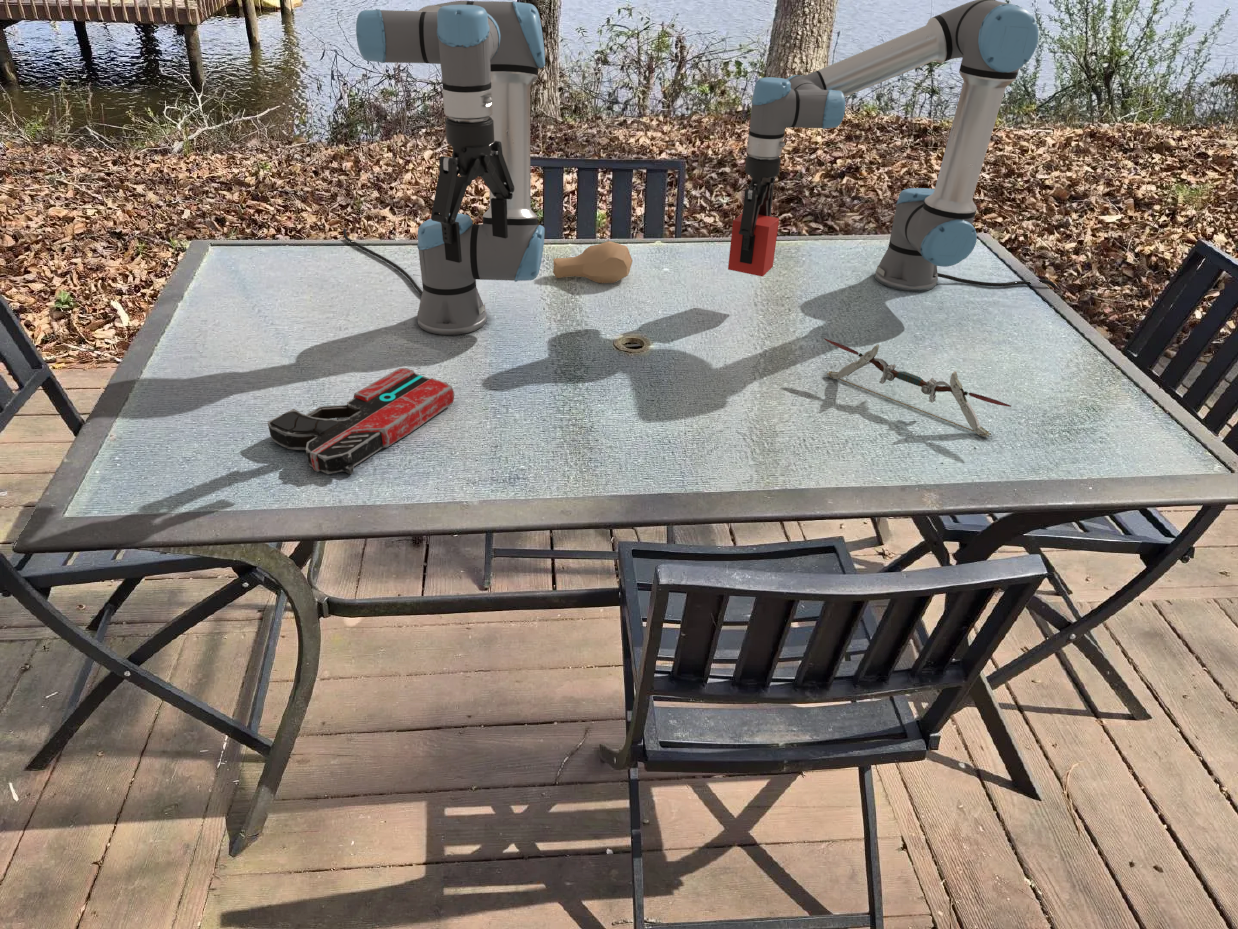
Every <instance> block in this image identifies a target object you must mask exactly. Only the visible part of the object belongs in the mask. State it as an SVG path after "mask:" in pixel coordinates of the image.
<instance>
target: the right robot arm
mask: <svg viewBox="0 0 1238 929" xmlns="http://www.w3.org/2000/svg"><path fill="white" fill-rule="evenodd" d="M1038 43H1039V26H1038V23H1037V21H1036V19H1035V16H1033V14H1031V12H1030V11H1028V10H1027V9H1025V8H1023V7H1022V6H1019V5H1018V4H1014V3H1008V2H1003V1H999V0H971V1H969V2H966V3H963V4H961V5H959V6H955V7H954V8H950V9H949V10H946V11H945V12H942V13H940V14H937V15H935V16H933V17H930V18H929V19H928V20H927V22H926V24H925V25H923V26H921V27H918V28H917V29H913V30H911V31H909V32H907V33H904V34H901V35H900V36H897V37H895V38H892V39H890V40H887V41H885V42H883V43H880V44H878V45H875V46H873V47H871V48H869V49H865V50H863V51H861V52H858V53H856V54H854V55H851V56H849V57H847V58H844V59H842V60H840V61H837V62H834V63H832V64H830V65H828V66H825V67H823V68H820V69H817V70H815V71H813V72H809V73H806V74H805V75H801V74H794V75H790V76H789V77H787V78H782V77H774V76H773V77H772V76H770V77H769V76H766V77H761V78H759V79H757V80H756V81H755V82H754V83H755V84H754V86H753V94H752V98H751V111H750V120H749V131H748V136H747V145H746V153H747V155H746V156H745V165H744V172H745V174H746V175H748V176H750V177H751V180H750V182H749V184H748V188H745V189H744V197H743V198H744V200H743V207H742V212H741V214H742V219H741V226H740V231H739V234H741V235H743V236H742V245H741V254H740V262H742V263H747V264H752V258H753V250H754V242H755V235H754V231H755V227H756V222H757V218H758V214H759V215H764V216H770V217H772V209H773V199H774V198H773V197H774V188H775V182H776V177H778V176H779V175H780V169H781V161H782V159H781V157H780V156H781V155H782V153H783V152H782V151H783V148H785V146H786V142H784V137H785V131H786V128H789V129H792V128H795V129H798V128H799V129H822V130H825V129H834V128H835V129H836V128H837V127H839V126H840V125H841V124H842V122H843V120H844V117H845V113H846V97H848V96H851V95H853V94H856V93H858V92H861V91H864V90H866V89H868V88H871V87H874V86H875V85H876V86H877V84H880V83H881V84H882V83H883V82H885V81H888V80H890V79H893V78H895V77H898V76H901V75H902V74H903V75H904V74H905V73H908V72H910V71H913V70H915V69H918V68H920V67H922V66H925V65H927V64H930V63H932V62H937V63H939V64H942V63H946V62H948V61H951V60H955V59H961V62H960V66H959V70H958V73H959V75H960V76H961V79H962V80H963V83H962V87H961V91H960V95H959V98H958V102H957V106H956V109H955V113H954V116H953V120H952V123H951V127H950V130H949V135H948V137H947V138H948V139H947V142H946V146H945V149H944V153H943V157H942V160H941V164H940V167H939V168H940V169H939V172H938V176H937V179H936V182H935V187H934V188H929V187H928V188H926V187H925V188H924V187H910V188H905V189H903V190H901V191H900V192H899V195H898V197H897V201H896V203H895V204H896V206H895V212H894V217H893V222H892V226H891V232H890V237H889V242H888V247H887V249H886V251H885V253H884V254H883V256H882V258H881V260H880V262H879V264H878V265H877V266H876V269H875V274H874V278H875V280H876V281H877V282H878V283H880V284H881V285H883V286H885V287H887V288H891V289H894V290H898V291H904V292H925V291H930V290H932V289H934V288H935V287H937V285H938V279H939V278H941V279H947V280H950V281H955V282H958V283H964V284H968V285H974V286H975V285H976V286H983V287H994V288H995V287H997V288H999V287H1000V288H1001V287H1002V288H1004V287H1011V286H1023V285H1032V284H1031V283H1030V282H1024V281H1025V280H1015V281H1008V282H989V281H979V280H972V279H968V278H967V279H966V278H962V277H957V276H954V275H949V274H945V273H940V272H939V271H938V267H942V268H947V267H953V266H955V265H957V264H960V262H962V261H963V260H965V259H967V258H968V257H969V256H970V255H971V253H972V252H973V250H974V249H975V247H976V244H977V240H978V235H977V231H976V228H975V226H974V225H973V224H974V220H975V217H976V215H977V214H976V213H977V210H978V207H977V205H976V203H975V202H974V200H973V199H974V196H975V193H976V190H977V189H976V188H977V185H978V182H979V179H980V178H979V177H980V175H981V171H982V168H983V165H984V163H985V162H984V161H985V159H986V155H987V151H988V149H989V145H990V142H991V139H992V134H993V131H994V128H995V125H996V121H997V117H998V114H999V111H1000V108H1001V104H1002V101H1003V97H1004V95H1005V90H1006V89H1007V87H1008V86H1009V85H1010V84H1013V82H1015V81H1017V77H1018V74H1019V70H1020V68H1022V67H1023V66H1024V65H1025V64H1026V63H1027V62H1029V61H1030V59H1031V58H1032V57H1033V55H1034V54H1035V51H1036V49H1037V46H1038ZM1038 280H1039V281H1040V282H1042V283H1041V284H1046V285H1048V286H1050V287H1051V288H1053V289H1057V288H1058V286H1057V284H1056V283H1055V282H1053V281H1052V280H1050V279H1045V278H1039V279H1038ZM1015 282H1017V283H1015Z"/></svg>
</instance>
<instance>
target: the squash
mask: <svg viewBox="0 0 1238 929" xmlns="http://www.w3.org/2000/svg"><path fill="white" fill-rule="evenodd" d="M632 264H633V258H632V255H631V254H630V249H629V247H628V246H627V245H624V244H622V243H621V244H620V243H617V242H614V241H610V240H608V241H605V242H602V243H599V244H598V243H597V244H593V245H590V246H588V247H587V248H585V249H584V250H583V252H581V253H580V254H578V255H576V256H571V257H570V256H569V257H555V258H553V268H552V273H553V275H554V276H555V279H562V278H570V277H578V278H579V277H580V278H586V279H588V280H590V281H591V282H595V283H598V284H615V283H616V282H618V281H620V280H622V279H625V278H626V277H628V276H629V274H630V272H631V268H632Z"/></svg>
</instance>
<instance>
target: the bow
mask: <svg viewBox="0 0 1238 929" xmlns="http://www.w3.org/2000/svg"><path fill="white" fill-rule="evenodd" d="M822 339H823V340H824V341H826V342H828V343H829V344H831V345H833V346H835V347H837V348H839V349H841V350H842V351H843V350H844V351H845V352H848V353H851V354H853V355H857V357H858V358H859V359H858V360H854V361H853V362H851V363H849V364H847V365H845V366H844V367H842V368H841V369H840V370H839V371H832V370H831V371H828V372H826V375H827V377H829V378H831V379H832V380H839V381H842V382H845V383H847V384H849V385H852V386H855V387H857V388H860V389H862V390H865V391H868V392H871V393H873V394H876V395H878V396H881V397H883V398H886V399H888V400H891V401H894V402H896V403H899V404H902V405H904V406H907V407H909V408H912V409H914V410H917V411H920V412H922V413H924V414H927V415H929V416H931V417H935V418H938V419H941V420H943V421H944V422H945V421H946V422H948V423H951V424H953V425H956V426H958V427H961V428H963V429H966V430H968V431H971V432H973V433H974V434H977V435H978V436H979V437H983V438H989V437H990V436H992V433H991V432H989V430H987V429H985V428H984V427H983V426H982V425H980V421H979V419H978V418H979V417H978V416H977V414H976V412H975V410H974V408H973V407H972V405H971V404H970V403H969V401H968V400H967V397H966V396H968V395H969V397H972V398H975V399H977V400H980V401H983V402H986V403H990V404H994V405H997V406H1003V407H1009V408H1011V407H1012V405H1011V404H1007V403H1005V402H1003V401H1000V400H998V399H995V398H991V397H988V396H985V395H981V394H979V393H975V392H968V391H966V390H964V388H963V384H962V383H961V381H960V380H959V378H958V374H957V371H953V372H952V373H951V376H950V380H949V383H948V382H946V381H944V380H940V381H939V380H938V381H937V380H936V379H934V378H933V377H932V378H930V379H929V380H928V381H926V380H924V379H923V378H922V377H921V376H918V375H916V374H913V373H910V372H907V371H904V370H896V368H897V367H896V366H897V365H896V364H895V363H893V364H888V362H887V361H886V360H884V359H883V358H879V357H876V356H877V355H878V352H879V349H880V344H876V345H874V347H872V348H871V350H868V351H866V352H865V353H864V354H863V353H861V352H858V351H857V350H855V349H853V348H850V347H848V346H846V345H843V344H842V343H839V342H837V341H833V340H831V339H828V338H826V337H825V338H824V337H823V338H822ZM875 357H876V358H875ZM870 364H872V365H873V366H875V368H877V370H879V371H880V372H882V375H881V377H880V380H879V382H878V383H879V384H881V385H884V384H885V383H887V381H889V382H893V381H894V380H895V379H898V380H900V381H902V382H906V383H908V384H910V385H914V386H916V387H921V389H920V391H921V393H922V394H924V395H928V403H932V404H934V402H936V397H937V394H936V393H937V392H938V393H945V392H949V393H951V395H952V396H953V397H954V399H955V401H956V402H957V404H958V405H959V408H960V410H961V413H962V414H963V416H964V417H965V419H966V422H967V424H968V425H969V427H970V428H969V427H966V426H963V425H961V424H958V423H957V422H956V423H955V422H953V421H952V420H951V421H950V420H948V419H946V418H943V417H940V416H937V415H935V414H933V413H929V412H928V411H925V410H922V409H919V408H917V407H914V406H912V405H909V404H906V403H904V402H901V401H899V400H896V399H893V398H891V397H888V396H886V395H883V394H881V393H879V392H876V391H873V390H870V389H868V388H865V387H862V386H860V385H857V384H855V383H852V382H850V381H847V380H844V379H843V378H845V377H849V376H850V375H851V374H853V373H854V372H856V371H857V370H859V369H861V368H864V367H865V366H867V365H870Z"/></svg>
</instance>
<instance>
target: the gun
mask: <svg viewBox="0 0 1238 929" xmlns="http://www.w3.org/2000/svg"><path fill="white" fill-rule="evenodd" d="M455 394H456V393H455V391H454V388H453V386H452V385H451V384H449V383H448V382H447V381H441V380H438V379H436V378H432V377H431V378H429V377H426V376H423V375H421V374H418V373H416V372H415V371H414V370H413V369H410V368H407V367H399V368H397V369H395V370H393V371H392V372H390V373H388V374H386V375H384V376H383V377H381V378H379V379H378V380H376V381H374V382H372V383H371V384H369V385H367V386H365V387H363V388H361V389H360V390H358V391H356V392H355V393H353V398H352V399H350V400H349V401H347V402H346V404H340V405H339V404H338V405H324V406H323V405H321V406H319V407H317V408H315V409H313V410H312V411H310V412H308V413H306V414H305V413H302V412H300V411H298V410H297V409H295V408H292V409H290V410H288V411H286V412H284V413H283V414H280V415H278V416H276V417H274V418H273V419H270V420H268V421H267V422H266V423H267V426H268V431H269V436H270V439H271V440H272V441H273V442H274V443H275V444H278V445H279V446H281V447H283V448H285V449H288V450H297V451H305V453H306V458H307V463H308V466H309V467H311V468H312V469H313V471H314V472H317V473H319V472H322V473H324V474H326V475H331V474H337V473H340V472H341V473H342V472H343V473H346V474H348V475H352V474H354V473H355V472H354V467H356V466H357V465H359V464H360V463H362V462H364V461H365V460H367V459H368V458H369V457H372V455H374V454H376V453H377V452H379V451H381V450H382V449H384V448H385V449H386V448H389V447H390V446H392V445H393V444H395V443H396V442H398V441H399V440H401V439H402V438H404V437H406V436H407V435H409V434H411V433H412V432H414V431H415V430H416V429H418V428H420V427H421V426H423V425H424V424H425V423H426V422H428V421H429V420H431V419H432V418H434V417H436V416H437V415H438V414H440V413H441V412H443V411H444V410H445V409H447V408H448V407H450V406H451V405H453V404H454V401H455Z"/></svg>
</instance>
